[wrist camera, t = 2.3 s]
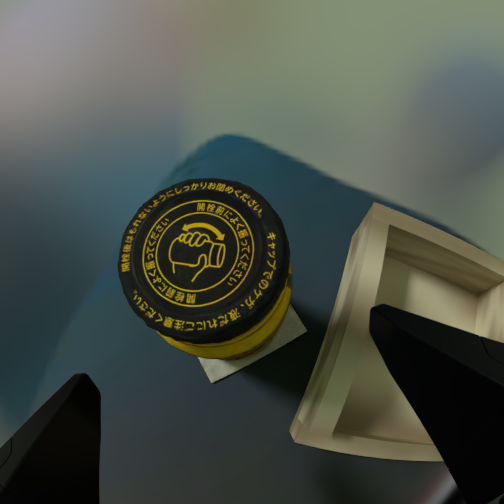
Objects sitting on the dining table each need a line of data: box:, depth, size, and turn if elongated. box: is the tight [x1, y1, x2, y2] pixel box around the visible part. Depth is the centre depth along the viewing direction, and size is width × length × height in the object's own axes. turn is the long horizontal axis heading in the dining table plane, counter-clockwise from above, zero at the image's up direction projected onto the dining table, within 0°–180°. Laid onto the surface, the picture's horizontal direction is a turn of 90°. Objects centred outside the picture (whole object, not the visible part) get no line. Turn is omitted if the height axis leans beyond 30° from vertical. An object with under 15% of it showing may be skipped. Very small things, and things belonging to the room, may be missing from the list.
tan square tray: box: [289, 202, 504, 461], centre depth 15 cm, size 15×14×5 cm
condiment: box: [118, 178, 307, 383], centre depth 13 cm, size 7×8×12 cm
